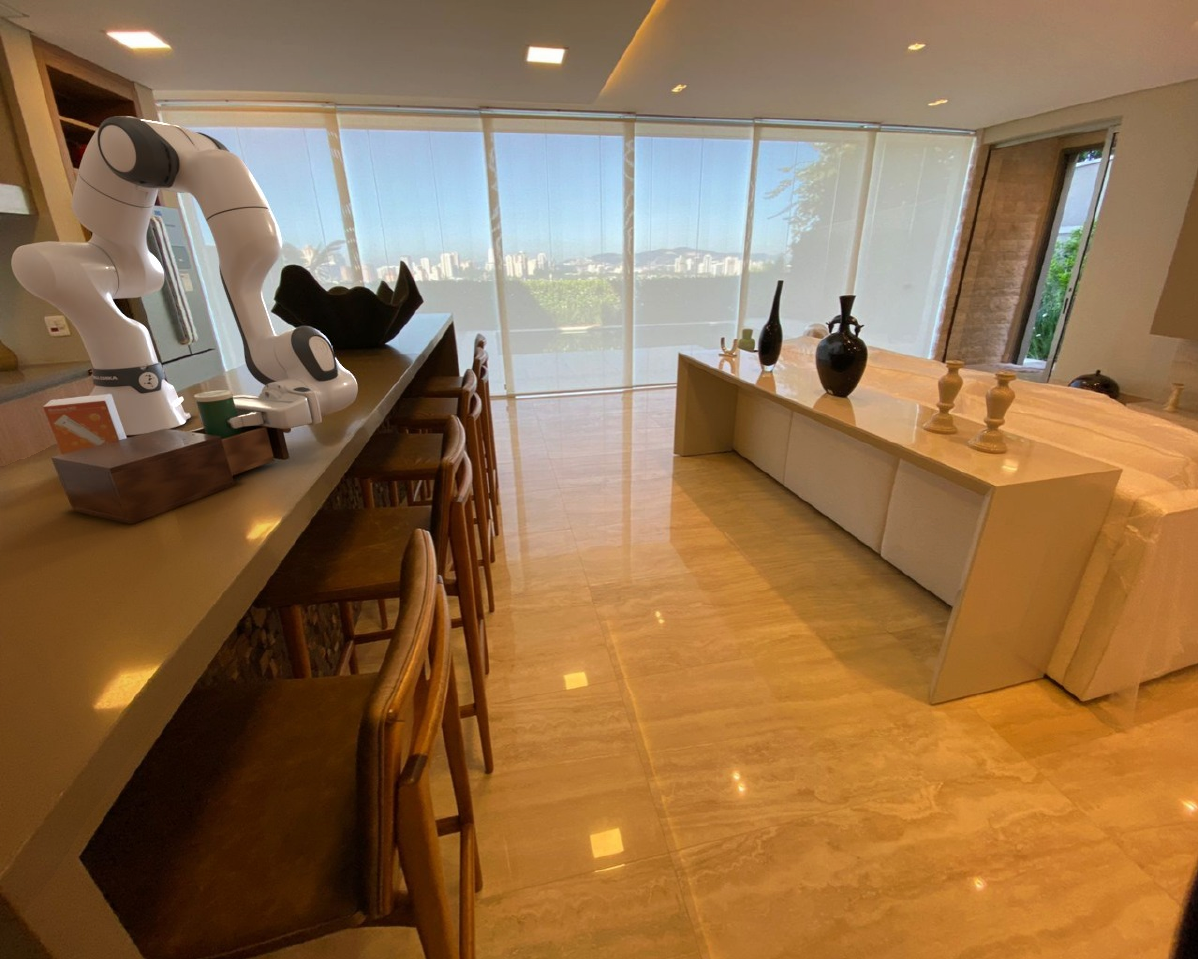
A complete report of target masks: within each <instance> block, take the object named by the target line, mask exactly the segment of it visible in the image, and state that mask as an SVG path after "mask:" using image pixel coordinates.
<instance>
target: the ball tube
mask: <svg viewBox="0 0 1198 959" xmlns="http://www.w3.org/2000/svg"><path fill="white" fill-rule="evenodd" d="M233 396H234V394H233V391H232V390H227V389H222V390H210V391H204V392H199V393H197V394H196V393H195V394H194V395H193V399H194V401H195V402H196V405H197V408H198V412H199V416H201V419H202V422H203V424H202V426H203V427H204V429H205V432H206V434H208V435H215V436H221V439H224V438H228V437H231V436H234V435H238V434H241V433H243V432H242V429H241V427H240V428H229V427H228V426H227V423H226V419H227V418H229V417H232V416H238V414H237V411H236V407H235V403H234V400H233Z"/></svg>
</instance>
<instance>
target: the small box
mask: <svg viewBox="0 0 1198 959" xmlns="http://www.w3.org/2000/svg"><path fill="white" fill-rule="evenodd" d="M42 408H43V411H44V413H45V417H46V419H47V421H48V424H49V427H50V429H51V432H52V434H53V436H54V439H55V442H56V444H57V447H58V449H59V453H60V455H62V454H66V453H70V452H74V451H78V450H82V449H86V448H90V447H94V446H98V445H102V444H106V443H110V442H114V441H118V440H122V439H126V438H127V435H125V432H124V429H123V427H122V424H121V421H120V418H119V415H118V412H117V409H116V407H115V404H114V401H113V398H112V395H111V394H105V395H96V396H89V395H83V396H76V397H67V398H66V397H65V398H57V399H56V398H55V399H51V400H49V401H48V402H46V404H45V403H44V405H43V406H42Z"/></svg>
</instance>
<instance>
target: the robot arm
mask: <svg viewBox="0 0 1198 959" xmlns="http://www.w3.org/2000/svg"><path fill="white" fill-rule="evenodd" d="M160 190H161V191H166V192H171V193H177V194H184V193H188V194H191V195H192V197H193V198H194V199H195V200H196V203H197V204H198V206H199V208H200V210H201V213H202V215H203V218H204V219H205V221H206V224H207V226H208V228H209V231H210V233H211V236H212V239H213V241H214V244H215V248H216V252H217V257H218V262H219V263H218V264H219V265H218V267H219V268H218V270H219V275H220V280H221V283H222V287H223V290H224V292H225V295H226V298H227V302H228V304H229V306H230V310H231V313H232V315H233V318H234V320H235V323H236V327H237V330H238V331H239V334H240V337H241V341H242V345H243V354H244V355H243V356H244V361H245V365H246V368H247V370H248V372H249V373H250V374H251V376H252V377H253V378H254V379H255V380H256V381H258V382H259V383H260V384H261V385H264V386H263V387H262V390H261V393H260V394H258V395H255V394H254V395H253V394H235V395H233V400H234V403H235V407H236V411H237V414H238V416H232V417H229V418H227V419H226V423H227V426H228V427H229V428H240V427H243V426H254V425H255V426H263V427H272V428H279V429H289V428H291V429H294V428H299V427H303V426H316V425H319V424H321V423H322V422H323V420H322V419H323V418H322V417H326V416H330V415H333V414H336V413H338V412H340V411H343V410H344V409H347V408H348V407H350V406H351V405H353V403H354V402H355V400H356V398H357V396H358V392H359V387H358V382H357V380H356V378H355V376H354V375H353V374H352V373H351V372H350V371H349V370H347V369H346V368H345V367H343V366H342V364H341V363H340V362H339V360H338V359H337V356H336V354H335V352H334V348H333V345H332V344H331V342H330V340H329V339H328V337H327V336H326V335H324V334H323V333H322V332H321V330H318V329H316V328H314V327H313V326H310V325H299V326H297V327H294V328H292V329H289V330H285V331H282V332H281V333H279V334H276V332H275V330H274V327H273V324H272V321H271V317H270V315H269V312H268V310H267V306H266V303H265V301H264V300H265V299H264V296H263V289H264V288H263V287H264V283H265V280H266V278H267V276H268V274H269V272H270V271H271V269H272V268H273V267H274V265H275V264H276V262H277V261H278V259H279V258H280V256H281V253H282V249H283V240H282V236H281V231H280V227H279V225H278V223H277V221H276V218H275V216H274V213H273V212H272V209H271V207H270V204H269V202H268V201H267V199H266V196H265V195H264V193H263V191H262V188H261V187H260V186H259V183H258V182H257V180H256V179H255V177H254V176H253V174H252V172H251V171H250V169H249V168H248V166H247V165H246V163H245V162H244V160H242V159H241V157H239V156H238V155H236V154H235V153H234V152H231V151H230V150H229V149H228V148H227V147H226V146H225V145H224V144H223V143H222V142H220V141H219V140H218V139H216V138H214V137H212V136H210V135H209V134H206V133H204V132H200V131H194V130H192V129H189V128H186V127H183V126H179V125H177V124H172V123H169V122H168V123H167V122H160V121H152V120H146V119H141V118H138V117H135V116H128V115H118V116H117V115H115V116H109V117H108V118H105V119H104V120H103V121H102V122H100V125H99V127H98V128H97V129H96V130H95V132H94V133H93V135H92V136H91V138H90V140H89V142H88V144H87V146H86V148H85V151H84V153H83V155H82V158H81V161H80V164H79V169H78V172H77V175H76V181H75V184H74V189H73V193H72V197H71V201H70V207H71V211H72V214H73V215H74V216H75V218H76V219H77V221H78V222H79V223H80V224H81V225H82V226H83V227H84V228H86V230H88V231H89V232H91V234H92V235H91V237H90V239H89V240H88V241H86V242H85V241H84V242H80V241H76V242H75V241H52V240H49V241H48V240H47V241H40V242H34V243H29V244H24V245H23V244H22V245H20V246H18V247H17V248H16V249H15V250H14V251H13V253H12V256H11V262H10V263H11V270H12V273H13V274H14V277H15V279H16V280H17V281H18V283H19V284H20V285H21V287H23V288H24V289H25V290H26V291H27V292H29V293H30V294H32V295H33V296H35V297H37V298H39V299H41V300H43V301H45V302H46V303H49V304H50V305H52V306H53V307H54V308H56V309H57V310H58V311H59V312H61V313H62V314H63V315H64V316H65V318H67V320H68V321H69V322H70V323H71V324H72V325H73V327H74V328H75V329H76V331H77V332H78V334H79V336H80V338H81V341H82V343H83V345H84V348H85V350H86V352H87V354H88V357H89V359H90V362H91V365H92V367H93V368H92V369H91V370H89V373H91V374H90V376H91V378H92V385H94V388H93V389H92V390H91V392H90V393H89V394H88V396H96V395H105V394H111V395H112V398H113V401H114V404H115V407H116V409H117V412H118V415H119V418H120V421H121V424H122V427H123V429H124V432H125V435H126V436H137V435H141V434H145V433H149V432H153V431H157V430H161V429H175V428H177V427H180V426H182V425H184V424H185V423H187V420H188V419H191V418H192V415H191V414H190V412H185V410H184V408H183V406H182V402H183V401H184V397H183V396H180V397H179V396H178V394H177V391H176V388H175V386H174V385H172V384H171V383H169V382H167V381H166V378H167V377H166V374H165V368H164V367H163V365H162V363H161V362H160V361H159V360H158V357H157V354H156V351H155V348H154V344H153V341H152V338H151V335H150V332H149V330H148V329H147V327H146V326H145V325H144V324H142V323H141V322H139V321H137V320H135V319H132V318H130V317H127V316H126V315H125V314H123V313H122V311H121V310H120V309H119V308H118V306H117V305H116V304H115V301H114V300H115V299H119V300H120V299H133V298H134V299H136V298H140V297H145V296H148V295H152V294H155V293H158V292H160V290H161V289H163V286H164V284H165V271H164V268H163V266H162V264H161V262H160V261H159V259H158V258H157V257H156V256H155V255H154V254H153V253H152V252H150V250H149V247H148V243H147V234H148V229H149V225H150V222H151V218H152V214H153V211H154V207H155V203H156V200H157V197H158V192H159V191H160ZM198 418H199V421H200V424H201V425H203V422H202V419H201V416H200V415H199V416H198Z"/></svg>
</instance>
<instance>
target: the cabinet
mask: <svg viewBox="0 0 1198 959" xmlns="http://www.w3.org/2000/svg"><path fill="white" fill-rule="evenodd" d="M50 459H51V461H52V464H53V466H54V468H55V471H56V473H57V476H58V478H59V480H60V483H61V486H62V488H63V490H64V493H65V495H66V497H67V500H68V502H69V504H70V506H71V509H72V511H73V512H76V513H79V514H80V513H81V514H85V515H88V516H89V515H90V516H93V517H96V518H97V517H98V518H102V519H105V520H109V521H110V520H111V521H114V522H118V523H123V524H127V525H134V524H136V523H139V522H141V521H144V520H147V519H149V518H153V517H155V516H157V515H160V514H163V513H166V512H168V511H171V510H173V509H177V508H178V507H181V506H183V505H186V504H190V503H192V502H194V501H197V500H200V499H202V498H205V497H207V496H210V495H212V494H216V493H219V492H220V491H223V490H226V489H229V488H231V487H234V486H235V485H236V484H235V481H234V478H233V476H232V474H231V470H230V467H229V463H228V460H227V456H226V453H225V449H224V446H223V442H222V439H221V436H215V435H208V434H201V433H194V432H187V431H186V430H179V429H173V428H170V429H161V430H157V431H153V432H149V433H145V434H137V435H133V436H130V437H126V439H122V440H118V441H114V442H110V443H106V444H102V445H98V446H94V447H90V448H86V449H82V450H78V451H74V452H70V453H66V454H58V455H55V456H51V457H50Z"/></svg>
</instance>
